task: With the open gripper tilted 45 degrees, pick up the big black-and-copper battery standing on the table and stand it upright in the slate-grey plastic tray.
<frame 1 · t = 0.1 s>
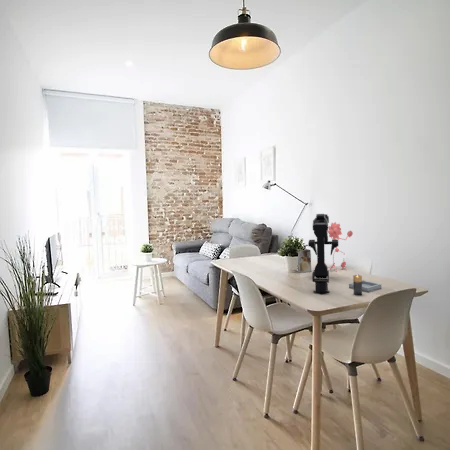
hand: (323, 254, 219), 15 cm above the table, tool pointing down, fingers open, 9 cm apart
big battery: (357, 294, 181), on the table
pink flower sprig: (335, 269, 245), on the table
grey tray: (365, 288, 192), on the table
coffee box: (303, 271, 242), on the table
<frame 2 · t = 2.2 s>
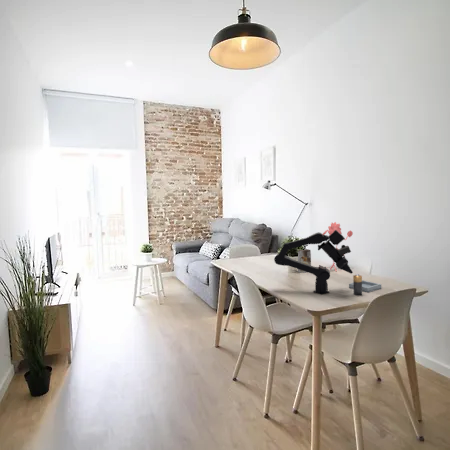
hand: (351, 271, 183), 12 cm above the table, tool tilted 40°, fingers open, 9 cm apart
nothing on the table moved.
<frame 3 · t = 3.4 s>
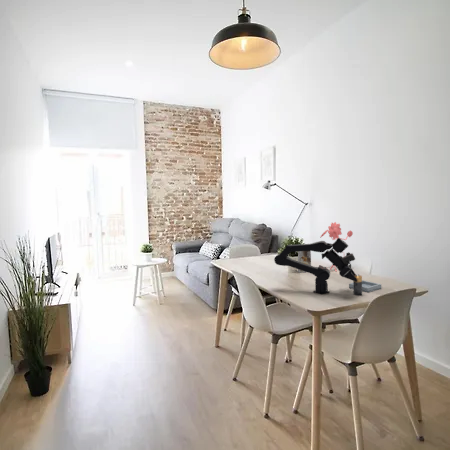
hand: (356, 279, 181), 8 cm above the table, tool tilted 45°, fingers open, 9 cm apart
nothing on the table moved.
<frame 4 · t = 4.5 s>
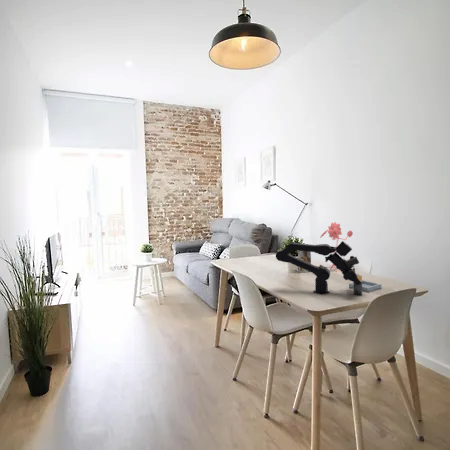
hand: (360, 282, 180), 7 cm above the table, tool tilted 45°, fingers closed on big battery, 4 cm apart
big battery: (357, 294, 181), on the table, touching gripper
everything else where it was.
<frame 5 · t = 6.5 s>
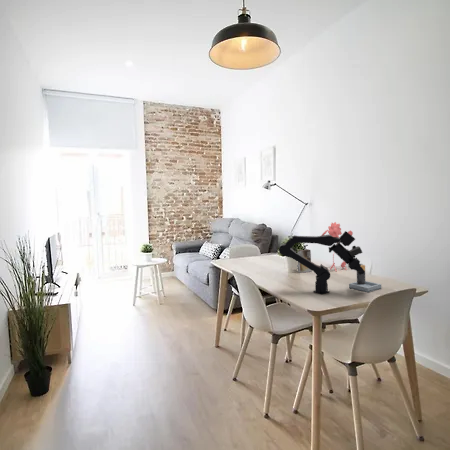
hand: (363, 271, 182), 12 cm above the table, tool tilted 45°, fingers closed on big battery, 4 cm apart
big battery: (361, 283, 183), point 5 cm above the table, touching gripper
everything else where it was.
when the fingers open (9 cm above the table, at t = 8.3 s): big battery drops 2 cm, resting on grey tray.
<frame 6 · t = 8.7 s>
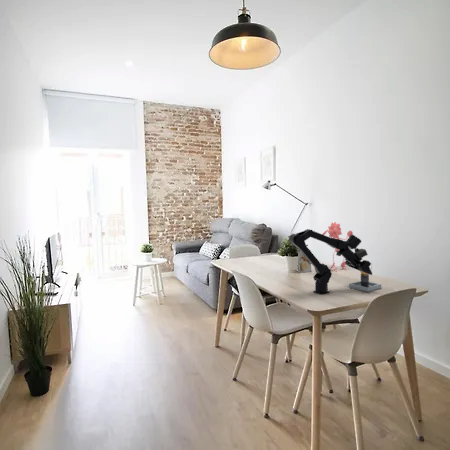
hand: (367, 272, 192), 9 cm above the table, tool tilted 45°, fingers open, 9 cm apart
big battery: (364, 286, 192), point 1 cm above the table, touching grey tray
everything else where it was.
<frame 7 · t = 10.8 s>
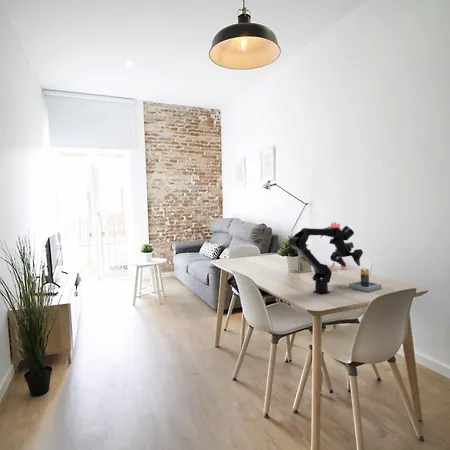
hand: (352, 266, 196), 12 cm above the table, tool tilted 35°, fingers open, 9 cm apart
nothing on the table moved.
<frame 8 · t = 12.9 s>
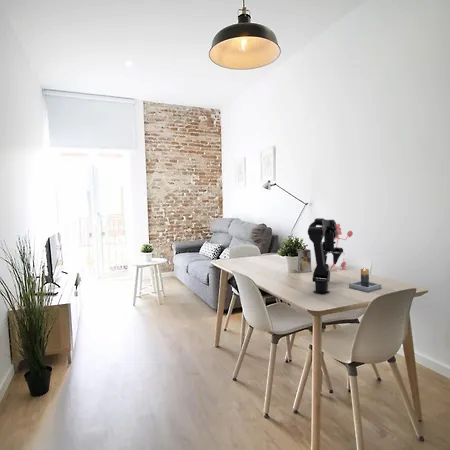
hand: (329, 265, 202), 12 cm above the table, tool pointing down, fingers open, 9 cm apart
nothing on the table moved.
at the end: big battery 0.1 cm off-centre on the grey tray, point 0.8 cm above the grey tray's base; big battery tilted 1°; the gripper is holding nothing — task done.
